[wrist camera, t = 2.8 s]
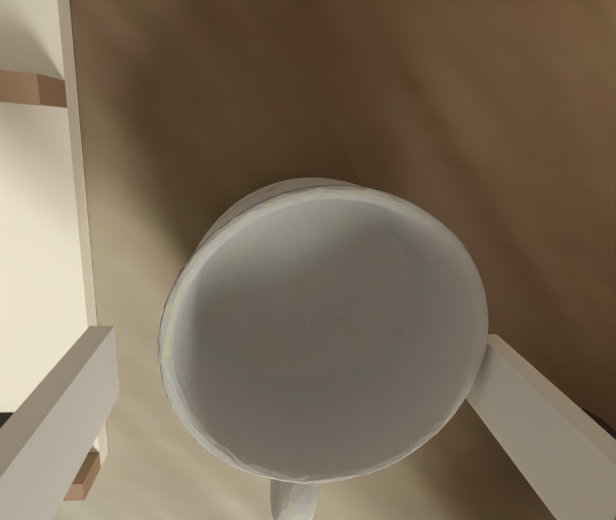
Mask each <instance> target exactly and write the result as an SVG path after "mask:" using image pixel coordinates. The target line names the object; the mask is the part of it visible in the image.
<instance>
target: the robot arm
mask: <svg viewBox="0 0 616 520" xmlns="http://www.w3.org/2000/svg"><path fill="white" fill-rule="evenodd" d="M118 397H119V385H118V372H117V359H116V346H115V333H114V326H89V327H88V329H87V330H86V331H85V332H84V333H83V334H82V335H81V337H80V338H79V339H78V340H77V341H76V342H75V343H74V345H73V346H72V347H71V348H70V349H69V350H68V351H67V353H66V354H65V355H64V356H63V357H62V358H61V360H60V361H59V362H58V363H57V364H56V365H55V366H54V368H53V369H52V370H51V371H50V372H49V373H48V374H47V376H46V377H45V378H44V379H43V380H42V381H41V382H40V384H39V385H38V386H37V387H36V388H35V389H34V390H33V392H32V393H31V394H30V395H29V396H28V397H27V398H26V400H25V401H24V402H23V403H22V404H21V405H20V407H19V408H18V409H17V410H16V411H15V412H0V520H52V519H53V518H54V516H55V514H56V512H57V510H58V508H59V506H60V505H61V503H62V501H63V499H64V497H65V495H66V493H67V492H68V490H69V488H70V486H71V484H72V482H73V480H74V479H75V477H76V475H77V473H78V471H79V469H80V467H81V465H82V464H83V462H84V460H85V458H86V456H87V454H88V452H89V451H90V449H91V447H92V445H93V443H94V441H95V439H96V438H97V436H98V434H99V432H100V430H101V428H102V426H103V425H104V423H105V421H106V419H107V417H108V415H109V413H110V412H111V410H112V408H113V406H114V404H115V402H116V400H117V398H118ZM466 399H467V401H468V402H469V403H470V405H471V406H472V407H473V409H474V410H475V411H476V413H477V414H478V415H479V417H480V418H481V419H482V421H483V422H484V423H485V425H486V426H487V427H488V429H489V430H490V431H491V433H492V434H493V435H494V437H495V438H496V439H497V441H498V442H499V444H500V445H501V446H502V448H503V449H504V450H505V452H506V453H507V454H508V456H509V457H510V458H511V460H512V461H513V462H514V464H515V465H516V466H517V468H518V469H519V470H520V472H521V473H522V474H523V476H524V477H525V478H526V480H527V481H528V482H529V484H530V485H531V486H532V488H533V489H534V490H535V492H536V493H537V494H538V496H539V497H540V498H541V500H542V501H543V502H544V504H545V505H546V507H547V508H548V509H549V511H550V512H551V513H552V515H553V516H554V517H555V519H556V520H616V431H615V430H614V429H613V428H612V427H610V426H609V425H608V424H607V423H606V422H605V421H603V420H602V419H600V418H599V417H597V416H595V415H594V414H592V413H590V412H589V411H587V410H585V409H580V408H579V407H578V406H577V405H576V404H575V403H574V402H573V401H571V400H570V399H569V398H568V397H567V396H566V395H565V394H563V393H562V392H561V391H560V390H559V389H558V388H557V387H556V386H554V385H553V384H552V383H551V382H550V381H549V380H548V379H547V378H545V377H544V376H543V375H542V374H541V373H540V372H539V371H538V370H536V369H535V368H534V367H533V366H532V365H531V364H530V363H529V362H527V361H526V360H525V359H524V358H523V357H522V356H521V355H520V354H518V353H517V352H516V351H515V350H514V349H513V348H512V347H511V346H509V345H508V344H507V343H506V342H505V341H504V340H503V339H502V338H500V337H499V336H498V335H497V334H488V338H487V346H486V351H485V355H484V358H483V361H482V364H481V367H480V370H479V373H478V376H477V379H476V381H475V383H474V385H473V387H472V389H471V391H470V393H469V394H468V396H467V397H466Z"/></svg>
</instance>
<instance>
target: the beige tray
mask: <svg viewBox="0 0 616 520" xmlns="http://www.w3.org/2000/svg"><path fill="white" fill-rule="evenodd" d="M89 326H97V319H96V307H95V296H94V284H93V272H92V260H91V249H90V237H89V225H88V213H87V202H86V190H85V178H84V166H83V155H82V143H81V131H80V120H79V108H78V96H77V84H76V73H75V61H74V49H73V37H72V26H71V14H70V2H69V0H0V412H15V411H16V410H17V409H18V408H19V407H20V405H21V404H22V403H23V402H24V401H25V400H26V398H27V397H28V396H29V395H30V394H31V393H32V392H33V390H34V389H35V388H36V387H37V386H38V385H39V384H40V382H41V381H42V380H43V379H44V378H45V377H46V376H47V374H48V373H49V372H50V371H51V370H52V369H53V368H54V366H55V365H56V364H57V363H58V362H59V361H60V360H61V358H62V357H63V356H64V355H65V354H66V353H67V351H68V350H69V349H70V348H71V347H72V346H73V345H74V343H75V342H76V341H77V340H78V339H79V338H80V337H81V335H82V334H83V333H84V332H85V331H86V330H87V329H88V327H89ZM107 454H108V448H107V436H106V425H105V423H104V425H103V426H102V428H101V430H100V432H99V434H98V436H97V438H96V439H95V441H94V443H93V445H92V447H91V449H90V451H89V452H88V454H87V456H86V458H85V460H84V462H83V464H82V465H81V467H80V469H79V471H78V473H77V475H76V477H75V479H74V480H73V482H72V484H71V486H70V488H69V490H68V492H67V493H66V495H65V497H64V499H63V501H71V500H85V498H86V496H87V494H88V492H89V490H90V488H91V486H92V484H93V482H94V480H95V478H96V476H97V474H98V472H99V470H100V468H101V466H102V464H103V462H104V460H105V458H106V456H107Z"/></svg>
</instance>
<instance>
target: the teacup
mask: <svg viewBox="0 0 616 520" xmlns="http://www.w3.org/2000/svg"><path fill="white" fill-rule="evenodd" d="M488 324H489V322H488V308H487V301H486V295H485V290H484V286H483V283H482V280H481V276H480V274H479V272H478V270H477V268H476V265H475V263H474V261H473V259H472V257H471V256H470V254H469V253H468V251H467V249H466V248H465V246H464V245H463V243H462V242H461V241H460V240H459V239H458V238H457V236H456V235H455V234H454V233H453V232H452V231H451V230H450V229H449V228H448V227H446V226H445V225H444V224H443V223H442V222H441V221H440V220H439V219H437V218H436V217H435V216H434V215H432V214H430V213H428V212H426V211H425V210H423V209H422V208H421V207H419V206H417V205H416V204H414V203H412V202H410V201H408V200H406V199H403V198H401V197H398V196H396V195H394V194H390V193H387V192H384V191H380V190H376V189H372V188H368V187H363V186H360V185H356V184H353V183H349V182H346V181H341V180H336V179H328V178H296V179H290V180H285V181H281V182H277V183H274V184H271V185H268V186H265V187H263V188H261V189H259V190H257V191H255V192H253V193H250V194H248V195H247V196H245V197H244V198H242V199H241V200H239V201H238V202H236V203H235V204H234V205H233V206H231V207H230V208H229V209H228V210H227V211H226V212H225V213H224V214H223V215H221V216H220V218H219V219H218V220H217V221H216V222H215V223H214V224H213V225H212V227H211V228H210V229H209V230H208V232H207V233H206V234H205V236H204V237H203V239H202V240H201V242H200V244H199V245H198V247H197V249H196V250H195V252H194V253H193V254H192V256H191V257H190V259H189V260H188V261H187V263H186V264H185V265H184V267H183V268H182V269H181V271H180V273H179V275H178V277H177V278H176V280H175V283H174V285H173V287H172V289H171V291H170V293H169V296H168V298H167V300H166V303H165V305H164V312H163V315H162V318H161V323H160V331H159V337H158V347H159V349H158V360H159V362H160V367H161V374H162V381H163V387H164V389H165V391H166V394H167V398H168V400H169V402H170V405H171V407H172V409H173V411H174V413H175V415H176V417H177V418H178V419H179V421H180V422H181V423H182V425H183V426H184V427H185V428H186V429H187V431H188V432H189V433H190V434H191V436H192V437H193V438H194V439H195V440H196V441H197V442H198V443H199V444H200V445H201V446H202V447H204V448H205V449H206V450H207V451H208V452H209V453H211V454H212V455H214V456H216V457H218V458H219V459H220V460H222V461H223V462H225V463H227V464H229V465H231V466H233V467H235V468H237V469H239V470H242V471H245V472H247V473H250V474H253V475H257V476H261V477H265V478H269V479H271V496H270V501H271V510H272V515H273V518H274V520H312V518H313V516H314V513H315V509H316V505H317V499H318V491H319V483H330V482H336V481H341V480H346V479H351V478H353V477H356V476H363V475H366V474H369V473H372V472H375V471H378V470H381V469H384V468H386V467H388V466H390V465H392V464H394V463H396V462H398V461H400V460H401V459H403V458H405V457H406V456H408V455H410V454H411V453H413V452H414V451H416V450H417V449H418V448H420V447H421V446H422V445H424V444H425V443H426V442H427V441H428V440H429V439H431V438H432V437H433V436H434V435H436V434H437V433H438V432H439V431H440V430H441V429H442V427H443V426H444V425H445V424H446V423H447V422H448V421H449V420H450V419H451V418H452V417H453V415H454V414H455V413H456V412H457V410H458V409H459V407H460V406H461V404H462V402H463V401H464V400H465V398H466V397H467V396H468V394H469V393H470V391H471V389H472V387H473V385H474V383H475V381H476V379H477V376H478V373H479V370H480V367H481V364H482V361H483V358H484V355H485V351H486V346H487V338H488Z"/></svg>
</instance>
